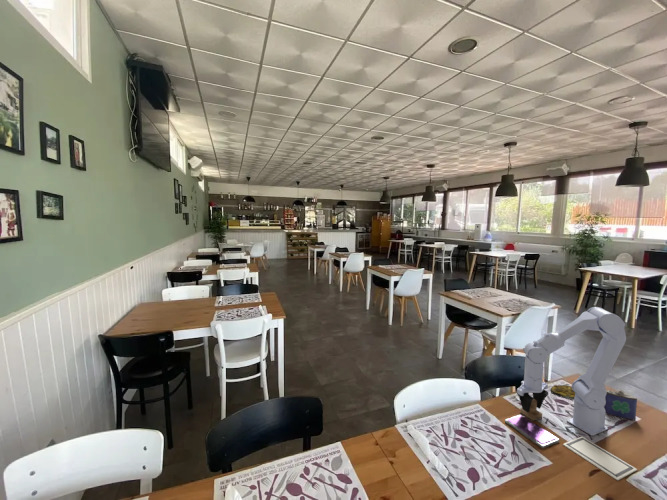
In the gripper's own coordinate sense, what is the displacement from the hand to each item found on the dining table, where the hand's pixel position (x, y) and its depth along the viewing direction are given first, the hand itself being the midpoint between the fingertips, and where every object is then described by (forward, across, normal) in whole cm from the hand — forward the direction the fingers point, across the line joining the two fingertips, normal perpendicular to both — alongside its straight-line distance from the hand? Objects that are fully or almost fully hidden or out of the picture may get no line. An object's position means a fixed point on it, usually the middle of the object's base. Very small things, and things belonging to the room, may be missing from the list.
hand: (531, 408), depth 107 cm
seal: (+3, -31, -5) cm, 32 cm away
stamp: (+3, 0, 0) cm, 3 cm away
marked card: (+3, 0, +21) cm, 21 cm away
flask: (+3, -32, +12) cm, 34 cm away
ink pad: (+3, +9, +6) cm, 11 cm away
